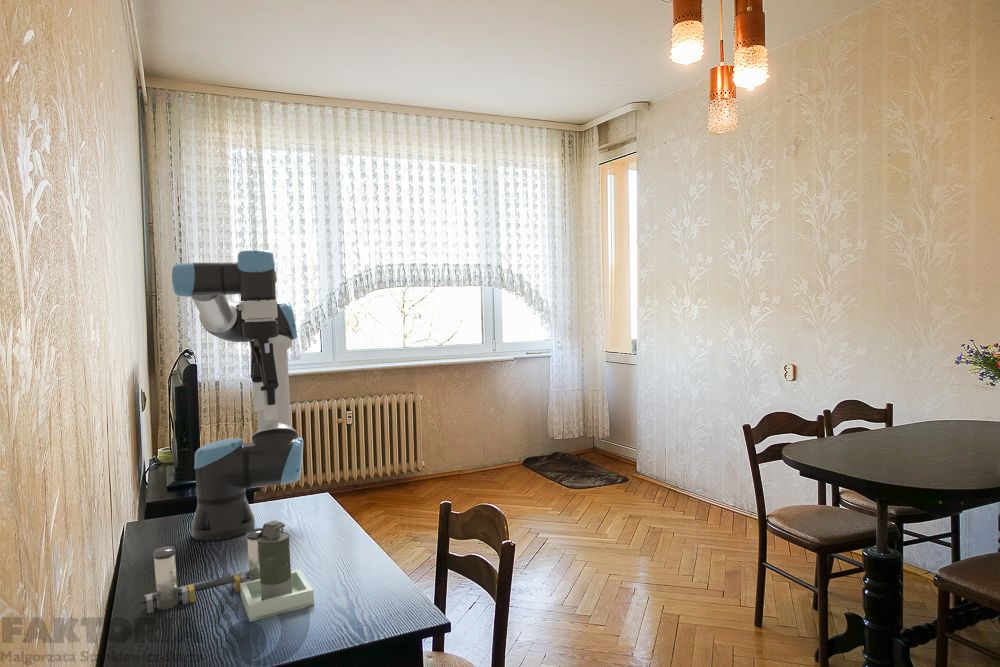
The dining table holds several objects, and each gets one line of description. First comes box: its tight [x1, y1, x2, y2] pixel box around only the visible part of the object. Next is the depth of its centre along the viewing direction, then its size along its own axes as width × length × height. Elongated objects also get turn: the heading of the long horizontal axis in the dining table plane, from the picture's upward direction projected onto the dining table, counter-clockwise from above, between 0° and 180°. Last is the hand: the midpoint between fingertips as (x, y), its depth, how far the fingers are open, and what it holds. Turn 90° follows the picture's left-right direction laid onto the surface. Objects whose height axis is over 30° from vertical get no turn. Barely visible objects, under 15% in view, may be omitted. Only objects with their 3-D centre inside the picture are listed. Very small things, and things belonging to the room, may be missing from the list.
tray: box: [240, 568, 315, 623], centre depth 126 cm, size 12×12×3 cm
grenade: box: [257, 520, 292, 601], centre depth 125 cm, size 6×6×15 cm
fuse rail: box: [143, 527, 263, 614], centre depth 132 cm, size 7×25×11 cm, turn 119°
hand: (265, 414), depth 145 cm, fingers open, 13 cm apart
